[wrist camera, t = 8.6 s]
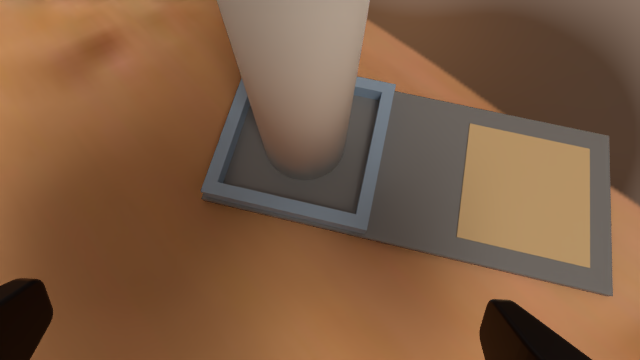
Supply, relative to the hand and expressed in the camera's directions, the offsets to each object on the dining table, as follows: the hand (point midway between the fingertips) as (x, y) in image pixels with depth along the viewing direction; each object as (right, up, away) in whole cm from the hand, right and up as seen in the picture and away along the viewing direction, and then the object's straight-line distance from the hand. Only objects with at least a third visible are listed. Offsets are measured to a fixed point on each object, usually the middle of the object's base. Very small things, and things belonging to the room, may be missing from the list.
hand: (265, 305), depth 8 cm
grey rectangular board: (+6, +3, +11) cm, 13 cm away
